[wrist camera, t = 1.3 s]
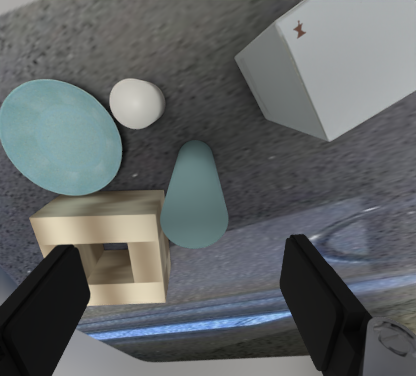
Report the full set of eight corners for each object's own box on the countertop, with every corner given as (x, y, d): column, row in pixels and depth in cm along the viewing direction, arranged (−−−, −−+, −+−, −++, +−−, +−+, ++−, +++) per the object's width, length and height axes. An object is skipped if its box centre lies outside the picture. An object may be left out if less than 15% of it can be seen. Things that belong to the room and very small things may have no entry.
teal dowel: (212, 139, 25) (229, 188, 12) (212, 173, 27) (227, 247, 14) (177, 140, 25) (156, 190, 12) (179, 173, 27) (163, 249, 14)
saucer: (148, 160, 26) (143, 166, 24) (67, 203, 28) (56, 212, 26) (80, 57, 22) (68, 53, 20) (-11, 116, 23) (-31, 118, 21)
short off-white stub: (163, 81, 23) (155, 78, 18) (167, 122, 24) (159, 128, 20) (124, 81, 23) (105, 78, 18) (129, 122, 24) (113, 129, 20)
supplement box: (265, 121, 25) (325, 147, 13) (232, 56, 22) (270, 16, 11) (327, 82, 24) (455, 72, 12) (300, 8, 21) (430, -98, 9)
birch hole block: (163, 189, 27) (155, 214, 22) (170, 266, 32) (165, 302, 27) (63, 192, 27) (29, 217, 21) (85, 269, 32) (62, 306, 26)
